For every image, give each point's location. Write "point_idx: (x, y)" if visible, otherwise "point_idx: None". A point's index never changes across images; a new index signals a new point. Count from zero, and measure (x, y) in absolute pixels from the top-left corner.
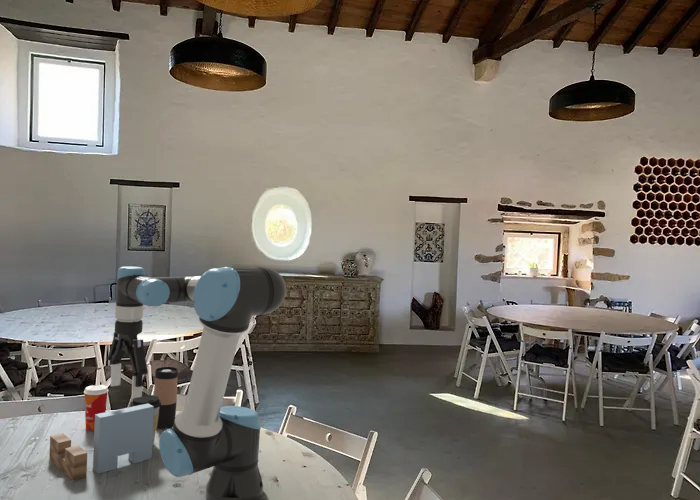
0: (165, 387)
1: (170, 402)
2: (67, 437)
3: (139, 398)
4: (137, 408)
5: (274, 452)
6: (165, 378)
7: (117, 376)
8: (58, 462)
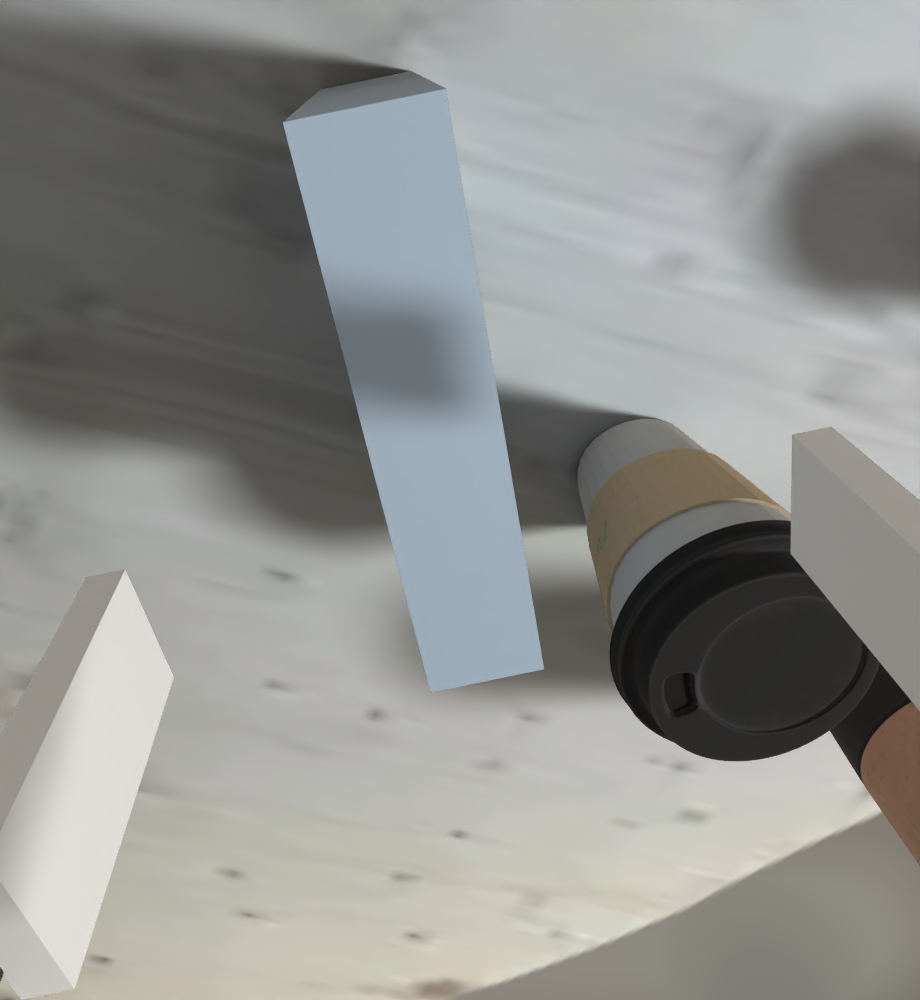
0: None
1: (867, 774)
2: None
3: (818, 630)
4: (439, 560)
5: (206, 952)
6: None
7: (859, 589)
8: None
